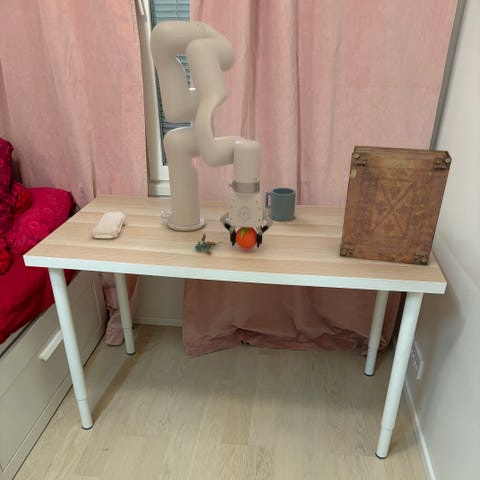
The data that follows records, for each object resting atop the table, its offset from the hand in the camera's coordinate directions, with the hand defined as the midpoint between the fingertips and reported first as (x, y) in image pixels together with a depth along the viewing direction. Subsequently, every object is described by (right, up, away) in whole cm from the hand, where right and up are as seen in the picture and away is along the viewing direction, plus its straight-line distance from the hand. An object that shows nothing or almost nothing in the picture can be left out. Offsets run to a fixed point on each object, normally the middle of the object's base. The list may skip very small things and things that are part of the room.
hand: (246, 244), depth 145 cm
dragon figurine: (-11, -1, +2) cm, 12 cm away
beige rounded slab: (-46, +7, +16) cm, 49 cm away
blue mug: (+12, +15, +29) cm, 34 cm away
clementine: (0, -1, +1) cm, 2 cm away
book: (+41, -3, -1) cm, 41 cm away
